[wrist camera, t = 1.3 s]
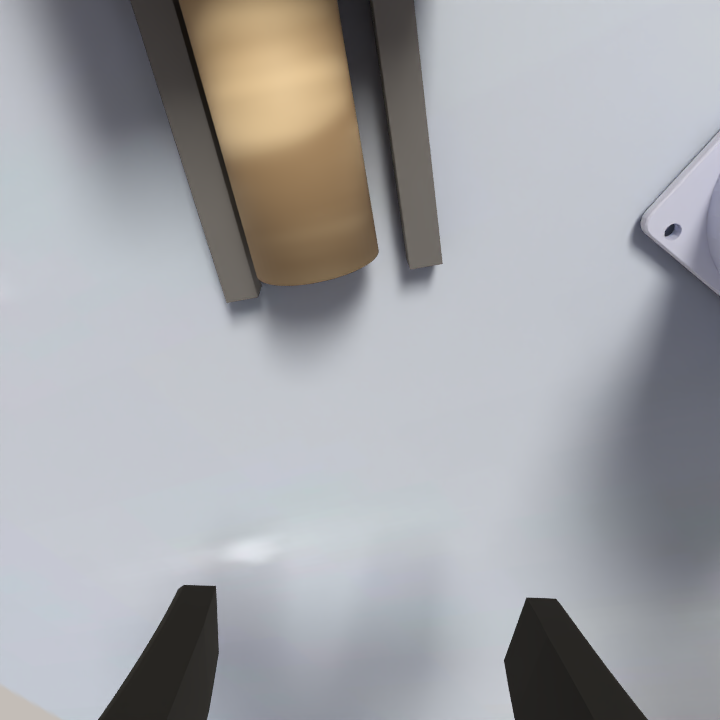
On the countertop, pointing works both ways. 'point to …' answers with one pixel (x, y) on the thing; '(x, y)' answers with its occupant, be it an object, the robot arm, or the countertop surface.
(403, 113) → the guide rails
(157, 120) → the countertop surface
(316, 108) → the oak dowel
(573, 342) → the countertop surface
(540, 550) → the countertop surface
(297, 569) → the countertop surface
